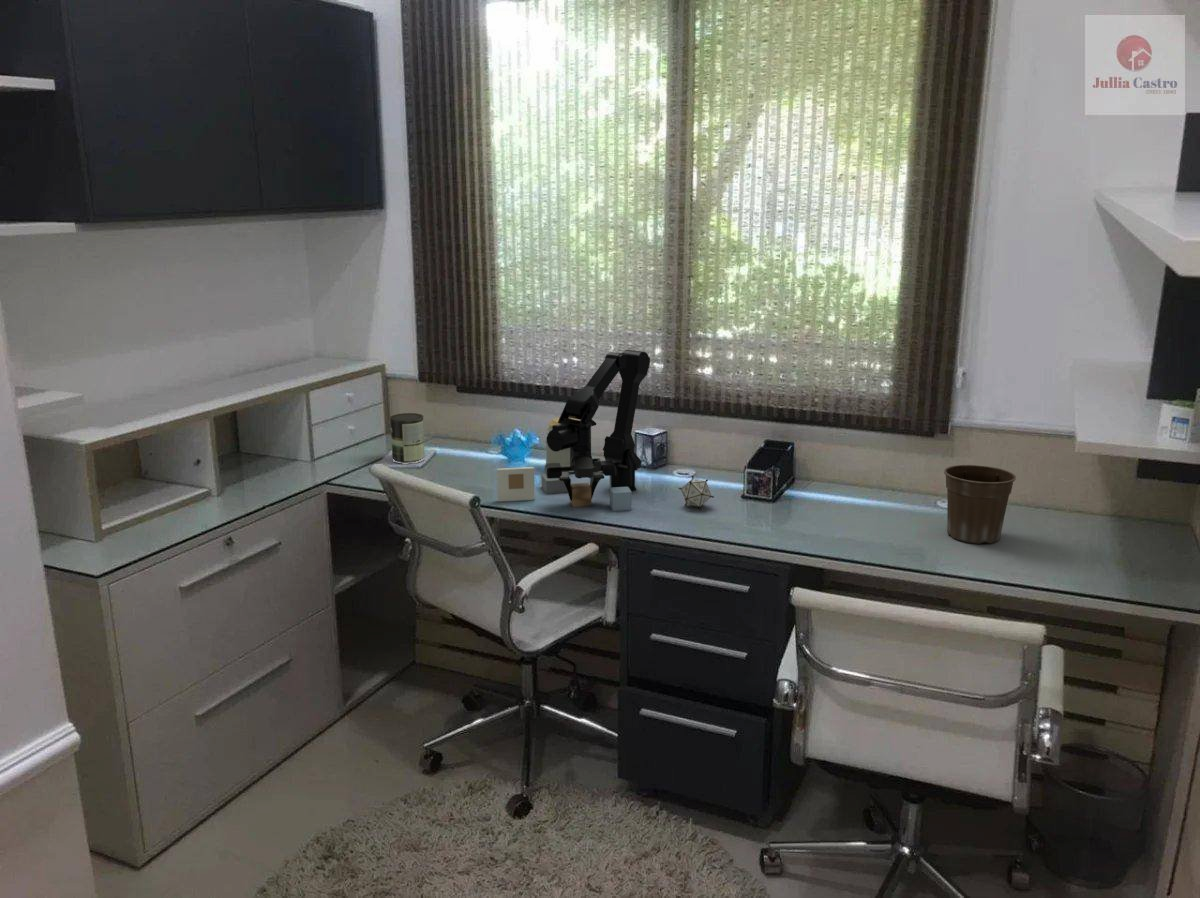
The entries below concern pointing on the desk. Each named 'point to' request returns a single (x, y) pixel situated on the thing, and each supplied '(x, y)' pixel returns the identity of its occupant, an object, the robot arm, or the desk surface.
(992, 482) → the plant pot
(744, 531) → the desk surface
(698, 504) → the game die
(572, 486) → the walnut cube
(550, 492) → the base block
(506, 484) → the plaque
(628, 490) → the slate blue cube
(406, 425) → the coffee can
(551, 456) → the jar
